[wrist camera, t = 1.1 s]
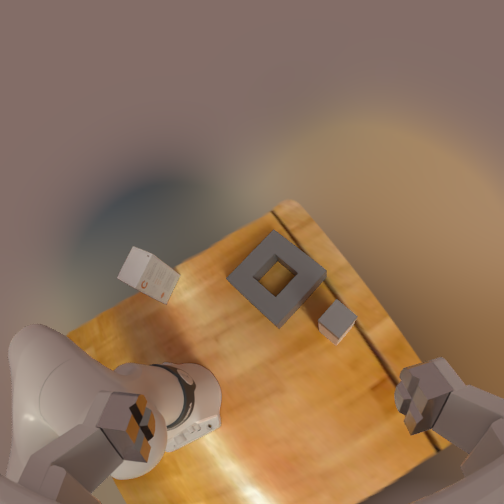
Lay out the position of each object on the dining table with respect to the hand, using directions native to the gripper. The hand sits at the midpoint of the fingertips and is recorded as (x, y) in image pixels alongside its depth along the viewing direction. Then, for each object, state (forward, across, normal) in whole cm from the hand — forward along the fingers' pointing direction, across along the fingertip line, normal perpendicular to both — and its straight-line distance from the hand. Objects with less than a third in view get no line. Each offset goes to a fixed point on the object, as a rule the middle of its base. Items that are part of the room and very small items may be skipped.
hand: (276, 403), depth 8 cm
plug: (+41, +15, -27) cm, 51 cm away
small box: (+57, -22, -22) cm, 65 cm away
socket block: (+51, +4, -20) cm, 55 cm away
